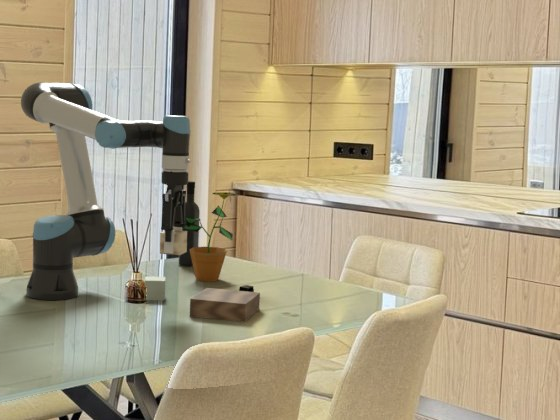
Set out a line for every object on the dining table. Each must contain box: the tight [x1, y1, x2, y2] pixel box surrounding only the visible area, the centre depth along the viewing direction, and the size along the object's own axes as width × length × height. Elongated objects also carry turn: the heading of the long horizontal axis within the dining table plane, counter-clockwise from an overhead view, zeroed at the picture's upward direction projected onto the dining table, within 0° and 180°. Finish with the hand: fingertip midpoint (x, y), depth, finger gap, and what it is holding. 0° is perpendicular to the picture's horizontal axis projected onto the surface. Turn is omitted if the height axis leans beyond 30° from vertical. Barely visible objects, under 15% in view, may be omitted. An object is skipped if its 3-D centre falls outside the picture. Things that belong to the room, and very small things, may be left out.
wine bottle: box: [178, 180, 201, 267], centre depth 343 cm, size 6×6×30 cm
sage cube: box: [144, 276, 166, 301], centre depth 289 cm, size 6×6×6 cm
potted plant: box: [183, 192, 237, 282], centre depth 319 cm, size 18×19×30 cm
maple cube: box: [159, 230, 187, 256], centre depth 273 cm, size 6×6×6 cm
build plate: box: [238, 284, 255, 292], centre depth 293 cm, size 12×7×5 cm, turn 151°
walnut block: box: [189, 287, 261, 322], centre depth 274 cm, size 16×16×5 cm
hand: (172, 251), depth 274 cm, fingers closed on maple cube, 6 cm apart
